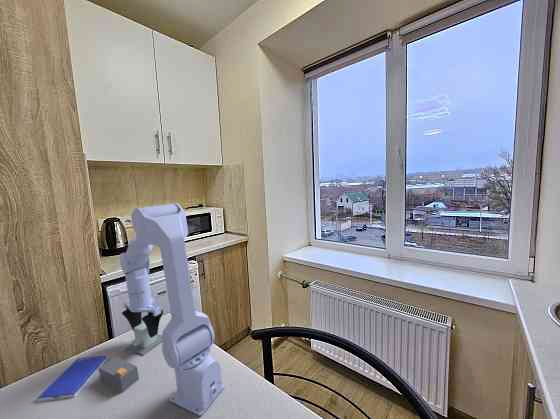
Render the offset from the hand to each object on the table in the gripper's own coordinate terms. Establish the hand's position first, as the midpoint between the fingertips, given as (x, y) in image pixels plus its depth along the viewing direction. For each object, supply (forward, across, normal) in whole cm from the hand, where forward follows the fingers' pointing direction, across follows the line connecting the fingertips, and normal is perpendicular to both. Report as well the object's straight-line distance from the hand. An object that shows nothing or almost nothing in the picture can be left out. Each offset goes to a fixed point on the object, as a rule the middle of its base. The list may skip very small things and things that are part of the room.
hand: (145, 332), depth 74 cm
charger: (+3, 0, 0) cm, 3 cm away
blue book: (+4, +6, +16) cm, 17 cm away
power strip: (+3, -6, +12) cm, 14 cm away
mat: (+3, 0, 0) cm, 3 cm away
